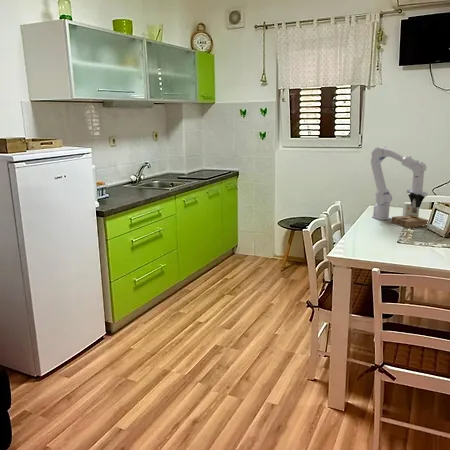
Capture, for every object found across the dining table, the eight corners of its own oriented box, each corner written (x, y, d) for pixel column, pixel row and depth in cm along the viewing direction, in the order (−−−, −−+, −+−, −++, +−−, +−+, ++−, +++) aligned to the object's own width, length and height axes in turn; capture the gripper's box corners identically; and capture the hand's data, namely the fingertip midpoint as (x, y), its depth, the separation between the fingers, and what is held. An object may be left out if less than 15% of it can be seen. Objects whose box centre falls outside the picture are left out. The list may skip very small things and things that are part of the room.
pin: (410, 212, 256) (411, 198, 254) (415, 211, 257) (416, 198, 255) (414, 213, 253) (415, 199, 251) (418, 212, 254) (419, 199, 252)
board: (391, 222, 260) (391, 216, 259) (410, 220, 264) (411, 214, 263) (407, 227, 247) (408, 221, 246) (427, 225, 251) (428, 219, 250)
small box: (415, 218, 270) (416, 202, 267) (418, 220, 264) (419, 203, 262) (401, 218, 270) (403, 201, 268) (404, 220, 265) (406, 203, 263)
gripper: (403, 182, 256) (401, 205, 260) (421, 185, 243) (418, 209, 246) (413, 181, 259) (411, 204, 262) (431, 185, 245) (428, 208, 248)
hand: (415, 206), depth 254 cm, fingers closed on pin, 3 cm apart
